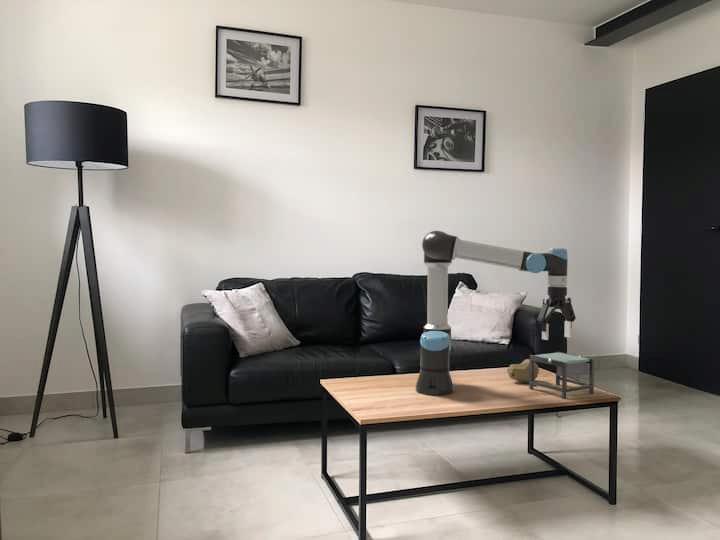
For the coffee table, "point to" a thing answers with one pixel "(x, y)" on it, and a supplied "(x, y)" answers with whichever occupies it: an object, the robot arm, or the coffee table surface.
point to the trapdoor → (569, 363)
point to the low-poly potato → (522, 371)
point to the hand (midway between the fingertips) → (556, 338)
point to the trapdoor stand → (564, 376)
